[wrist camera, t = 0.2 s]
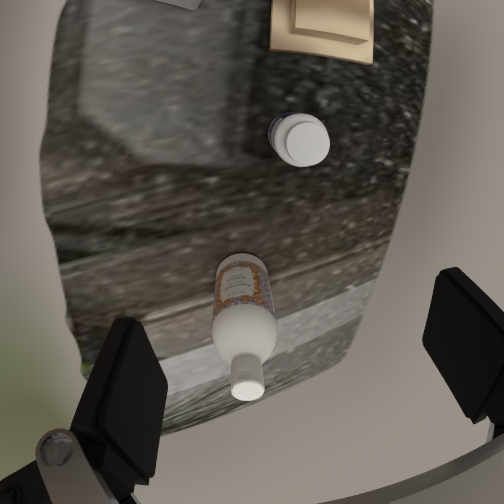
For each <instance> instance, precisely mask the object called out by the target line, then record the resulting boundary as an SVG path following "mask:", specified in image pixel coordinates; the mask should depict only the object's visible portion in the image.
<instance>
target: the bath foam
mask: <svg viewBox="0 0 504 504" xmlns="http://www.w3.org/2000/svg"><path fill="white" fill-rule="evenodd" d="M212 335H213V340H214V344H215V346H216V349H217V351H218V352H219V354H220V355H221V356H222V358H223V359H224V360H225V361H226V362H227V363H228V364H229V365H230V366H231V393H232V395H233V396H234V397H235V398H237V399H239V400H244V401H251V400H255V399H258V398H259V397H261V396H262V395H263V393H264V389H265V388H264V378H263V369H262V364H263V363H264V362H265V360H266V359H267V358H268V357H269V355H270V354H271V352H272V351H273V349H274V346H275V343H276V339H277V322H276V316H275V310H274V305H273V299H272V294H271V288H270V283H269V278H268V273H267V269H266V267H265V265H264V263H263V262H262V261H261V260H260V259H259V258H257V257H255V256H253V255H251V254H246V253H239V254H234V255H231V256H229V257H227V258H226V259H225V260H223V261H222V263H221V264H220V265H219V267H218V270H217V274H216V284H215V295H214V307H213V319H212Z"/></svg>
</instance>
